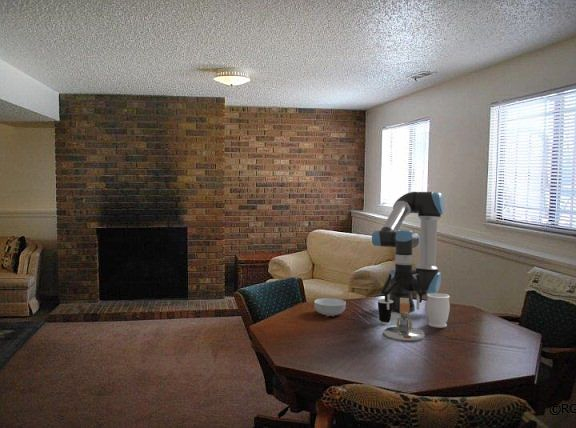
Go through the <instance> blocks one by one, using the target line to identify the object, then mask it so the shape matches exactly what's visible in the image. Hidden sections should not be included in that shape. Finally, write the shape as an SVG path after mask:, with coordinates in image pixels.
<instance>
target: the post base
mask: <svg viewBox="0 0 576 428" xmlns="http://www.w3.org/2000/svg"><path fill="white" fill-rule="evenodd" d="M399 318H400V320H399V329H397V326H390V327H386V328H384V329H383V337H385V338H387V339H389V340H391V341H395V342H404V343H405V342H406V343H414V342H421V341H423V340H424V339H425V332H424V331H423V330H421V329H419V328H415V327H412V329H409V316H408V317H401V316H400V317H399Z"/></svg>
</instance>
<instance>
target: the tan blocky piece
mask: <svg viewBox="0 0 576 428" xmlns="http://www.w3.org/2000/svg"><path fill="white" fill-rule="evenodd" d="M400 311H401V312H400V317H408V327H409V329H412V328H413V326H412V324H413V323H412V322H413V320H412V318H409V313H411V312H410V304H409V298H400ZM400 317H396V327H397V329H399V325H400Z"/></svg>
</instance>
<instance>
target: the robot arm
mask: <svg viewBox="0 0 576 428" xmlns="http://www.w3.org/2000/svg"><path fill="white" fill-rule="evenodd" d="M444 213H445V201H444V197H443V194H442V193H441V192H439V191H437V192H436V191H410V192H407V193H405V194H403V195H402V196H400V197H399V198H397V200H396V201H395V202H394V204H393V206H392V210H391V212H390V214H389V216H388V217H387V219H386V221H385V222H384V223H383V226H382V228H381V229H380V230H375V231H373V232H372V233H371V243H372V245H373V246H375V247H386V248H387V247H388V248H395V258H394V259H395V261H394V262H395V266H394V268H392V269H390V272H389V273H388V274H387V279H386V280H385V281H384V284H383V286H382V288H381V290H380V293H381V295H384V299H385V302H387V310H389V300H392V301H393V305H392V312H394V313H401V311H400V298H409V304H410V312H409V313H411V312H415V308H416V310H417V311H420V304H422V302H423V301H422V300H423V296H424V295H425V296H426V295H427V294H430V293H439V290H440V287H441V284H442V278H443V277H442V273H441V272H440V271H439V268H438V267H437V266H436V264H437V260H436V259H437V239H438V222H439V220H440V219H441V215H444ZM411 214H418V216H417V217H418V218H419V219H420V229H419V230H420V231H419V232H420V233H419V234H418V233H417V232H414V231H412V230H411V229H400V227H401V225H402V224H403V222H404V220H405V219H406V217H407V216H409V215H411ZM417 246H419V253H418V254H419V257H418V265H416V266H415V269H413V264H412V263H413V248H416V247H417ZM388 286H389V287H388ZM387 287H388V288H387ZM412 292H413V293H417V294H416V307H415V302H414V299H413V295H412Z"/></svg>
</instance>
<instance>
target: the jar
mask: <svg viewBox="0 0 576 428" xmlns="http://www.w3.org/2000/svg"><path fill="white" fill-rule="evenodd" d="M426 297H427V300H426V312H427V320H428V321H429V322H428V326H429V327H432V328H437V329H438V328H439V329H442V328H447V326H448V325H447V322H448V319H449V316H450V315H449V314H450V308H451V307H450V301H449V300H450V299H451V298H450V297H451V296H450V295H449V294H447V293H439V292H437V293H430V294H427V293H426Z"/></svg>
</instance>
